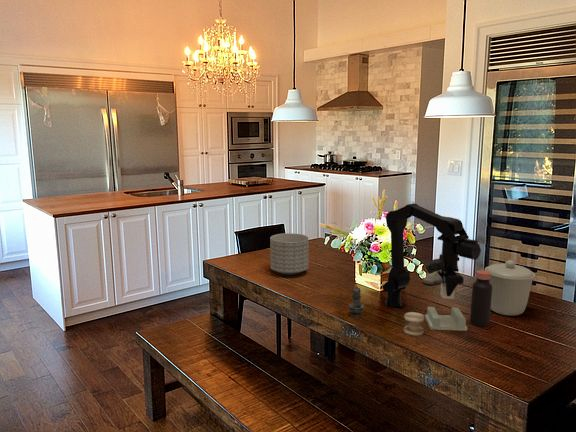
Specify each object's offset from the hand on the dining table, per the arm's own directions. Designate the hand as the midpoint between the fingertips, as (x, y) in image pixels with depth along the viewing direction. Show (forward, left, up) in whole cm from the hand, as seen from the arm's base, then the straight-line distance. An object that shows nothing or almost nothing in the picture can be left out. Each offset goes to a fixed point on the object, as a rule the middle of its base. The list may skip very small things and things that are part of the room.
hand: (447, 294), depth 176 cm
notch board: (0, 0, -12) cm, 12 cm away
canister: (-15, +27, -12) cm, 33 cm away
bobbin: (+8, -13, -12) cm, 19 cm away
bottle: (-2, +13, -12) cm, 18 cm away
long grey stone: (-58, +11, -12) cm, 60 cm away
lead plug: (0, 0, -1) cm, 1 cm away
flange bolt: (-6, -33, -12) cm, 36 cm away
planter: (-56, -64, -12) cm, 86 cm away
